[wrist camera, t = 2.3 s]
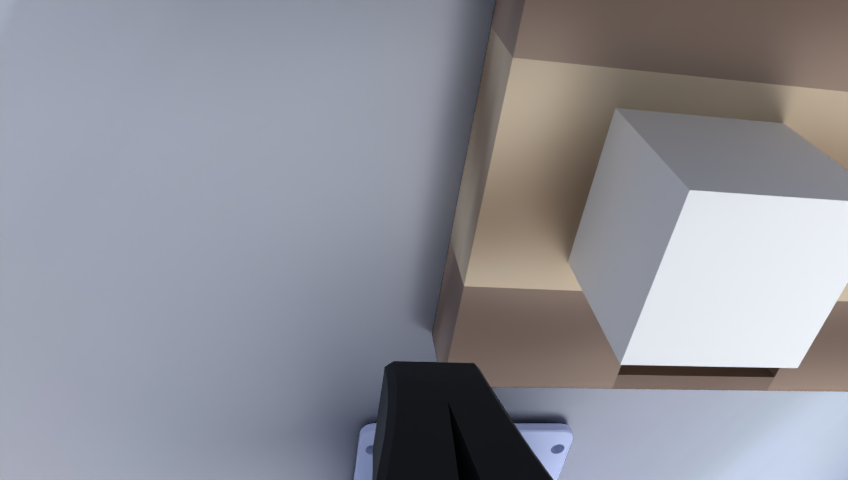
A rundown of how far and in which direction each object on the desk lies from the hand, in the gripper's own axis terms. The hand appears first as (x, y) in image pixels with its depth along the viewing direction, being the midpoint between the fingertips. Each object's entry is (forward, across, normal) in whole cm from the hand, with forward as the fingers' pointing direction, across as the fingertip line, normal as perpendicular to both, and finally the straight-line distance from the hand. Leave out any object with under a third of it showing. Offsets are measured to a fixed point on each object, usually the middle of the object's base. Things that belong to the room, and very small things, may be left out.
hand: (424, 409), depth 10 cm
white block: (+8, -8, 0) cm, 11 cm away
